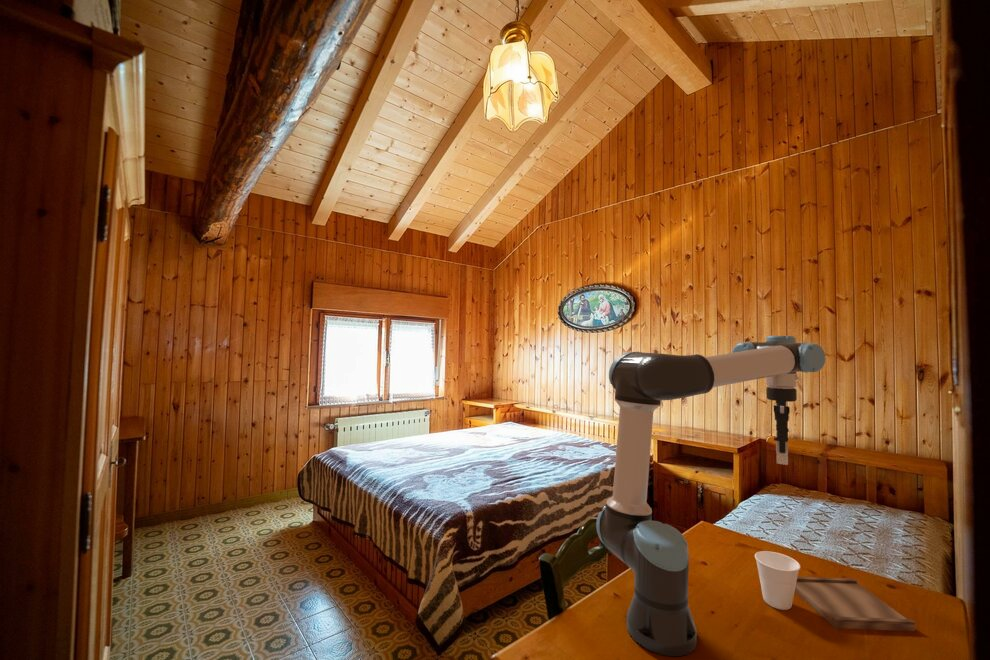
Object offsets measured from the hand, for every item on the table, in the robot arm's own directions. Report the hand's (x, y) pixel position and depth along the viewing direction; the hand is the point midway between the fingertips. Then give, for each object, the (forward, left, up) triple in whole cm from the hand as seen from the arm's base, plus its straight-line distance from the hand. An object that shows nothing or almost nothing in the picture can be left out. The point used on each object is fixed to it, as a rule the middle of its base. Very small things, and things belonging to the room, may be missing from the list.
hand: (781, 458), depth 127 cm
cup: (-12, -17, -33) cm, 39 cm away
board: (+5, -17, -33) cm, 37 cm away
